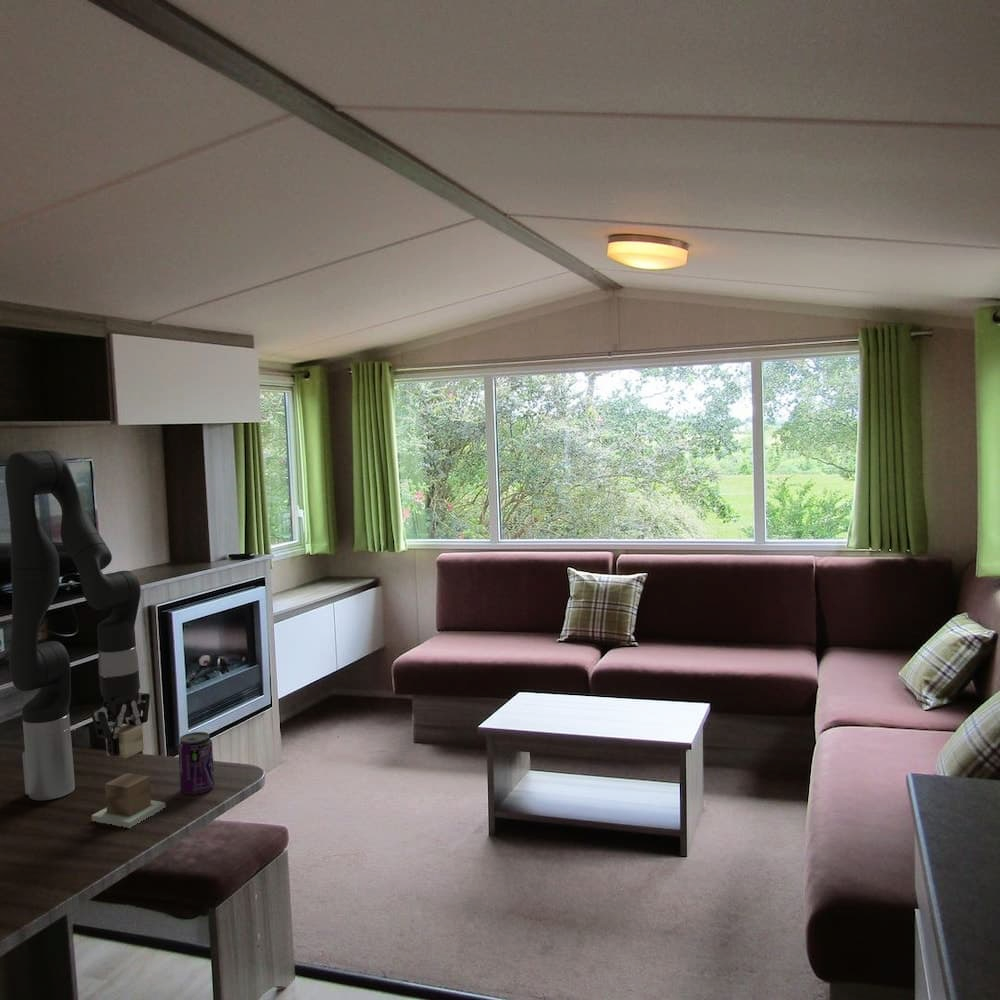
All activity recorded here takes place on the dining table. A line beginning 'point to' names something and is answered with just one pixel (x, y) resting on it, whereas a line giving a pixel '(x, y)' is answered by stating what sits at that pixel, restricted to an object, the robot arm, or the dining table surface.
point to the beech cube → (129, 740)
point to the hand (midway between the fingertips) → (124, 750)
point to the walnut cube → (127, 794)
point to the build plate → (128, 820)
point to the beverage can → (196, 763)
